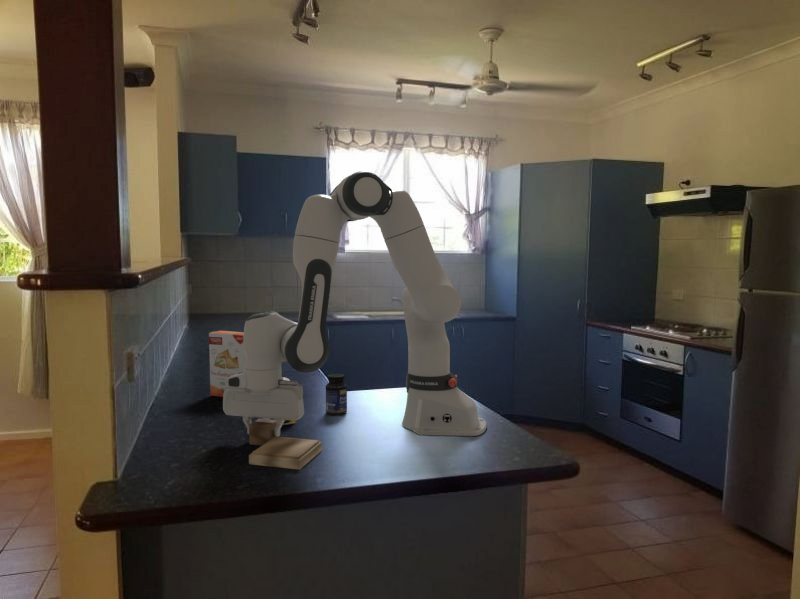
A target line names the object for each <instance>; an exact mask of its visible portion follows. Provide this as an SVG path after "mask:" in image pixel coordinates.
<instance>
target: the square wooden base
mask: <svg viewBox="0 0 800 599" xmlns="http://www.w3.org/2000/svg"><path fill="white" fill-rule="evenodd" d="M322 451H323V442H322V441H320V440H318V439H307V438H295V437H285V436H278V437H274V438H273V439H271V440H270V441H268V442H267V443H265V444H264V445H262V446H261V445H260V446H259V447H258V448H256V449H255V450H253V451H252V452H251V453H249V455H248V464H249V465H252V466H253V465H254V466H264V467H273V468H281V469H282V468H283V469H291V470H301V469H303V468H304V467H305V466H306V465H307V464H308V463H310V461H311V460H313V459H314V458H315V457H316V456H318V454H320V453H321V452H322Z"/></svg>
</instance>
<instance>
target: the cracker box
mask: <svg viewBox="0 0 800 599" xmlns="http://www.w3.org/2000/svg"><path fill="white" fill-rule="evenodd" d="M243 336H244V331H243V332H242V331H233V330H231V331H230V330H216V331H211V332H208V344H209V345H208V349H209V389H210V391H209V392H210V394H209V395H210V397H211V396H212V397H220V398H223V394H224V390H225V389H226V388H227V386H226V385H225V379H226V378H228V377H230V376H233V375H235V374H238V373H240V372H244V363H245V353H244V350H243Z"/></svg>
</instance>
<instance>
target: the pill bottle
mask: <svg viewBox="0 0 800 599" xmlns="http://www.w3.org/2000/svg"><path fill="white" fill-rule="evenodd" d="M327 376H328V377H327V381H328V382H327V383H326V385H325V412H326V414H327V415H329V416H342V415H343V416H344V415H345V414H347V412H348V384H346V383H345V382H344V381H345V374H343V373H332V374H328V375H327Z"/></svg>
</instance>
